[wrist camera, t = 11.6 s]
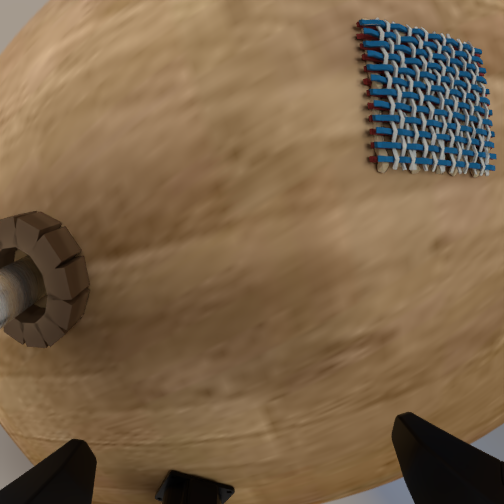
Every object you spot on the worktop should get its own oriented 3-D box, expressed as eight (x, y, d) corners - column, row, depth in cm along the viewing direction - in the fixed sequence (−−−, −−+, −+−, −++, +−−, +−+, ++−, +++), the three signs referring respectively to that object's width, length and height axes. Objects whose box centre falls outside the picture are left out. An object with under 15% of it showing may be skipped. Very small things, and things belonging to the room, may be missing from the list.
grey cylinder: (50, 301, 18) (-17, 357, 11) (20, 282, 18) (-51, 328, 10) (58, 264, 18) (-19, 311, 10) (26, 246, 17) (-53, 282, 10)
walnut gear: (76, 349, 19) (61, 368, 17) (-7, 296, 18) (-26, 309, 16) (103, 243, 18) (84, 254, 15) (8, 194, 16) (-15, 198, 14)
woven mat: (485, 178, 18) (502, 180, 16) (364, 172, 18) (378, 173, 16) (470, 50, 16) (485, 43, 14) (348, 20, 15) (358, 7, 13)
